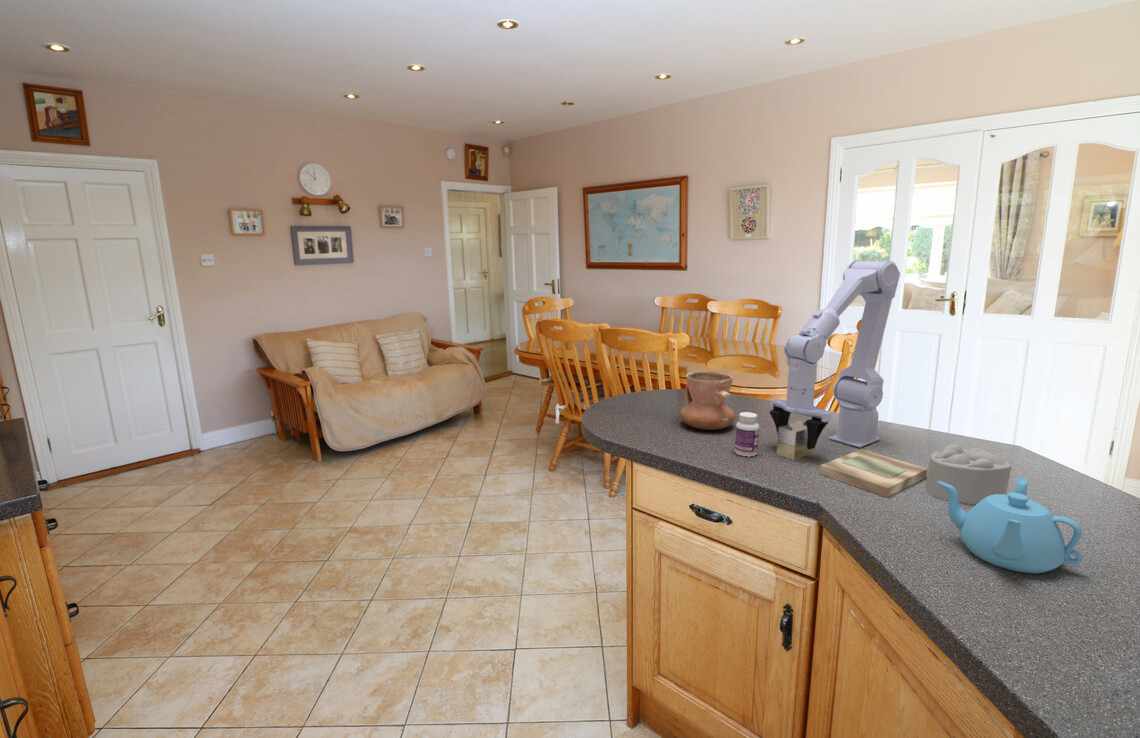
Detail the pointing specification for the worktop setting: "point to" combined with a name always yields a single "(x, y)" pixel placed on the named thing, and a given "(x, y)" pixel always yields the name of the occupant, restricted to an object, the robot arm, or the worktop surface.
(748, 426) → the pill bottle
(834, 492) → the worktop surface
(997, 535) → the teapot
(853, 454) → the birch stand
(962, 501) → the lumpy-topped squat cylinder
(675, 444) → the worktop surface
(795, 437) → the block
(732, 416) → the ceramic jug
